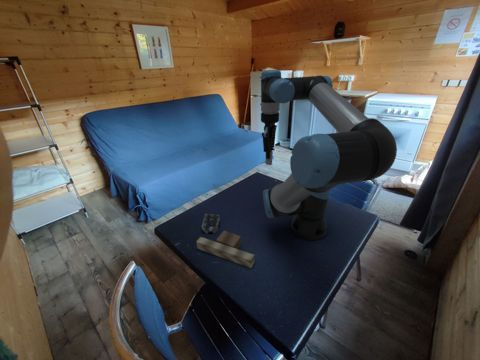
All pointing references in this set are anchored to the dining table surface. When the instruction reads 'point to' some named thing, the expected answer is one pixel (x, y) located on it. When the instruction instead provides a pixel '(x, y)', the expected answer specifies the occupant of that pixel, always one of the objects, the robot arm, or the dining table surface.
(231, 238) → the block
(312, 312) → the dining table surface
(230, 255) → the board
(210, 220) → the egg carton
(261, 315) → the dining table surface
